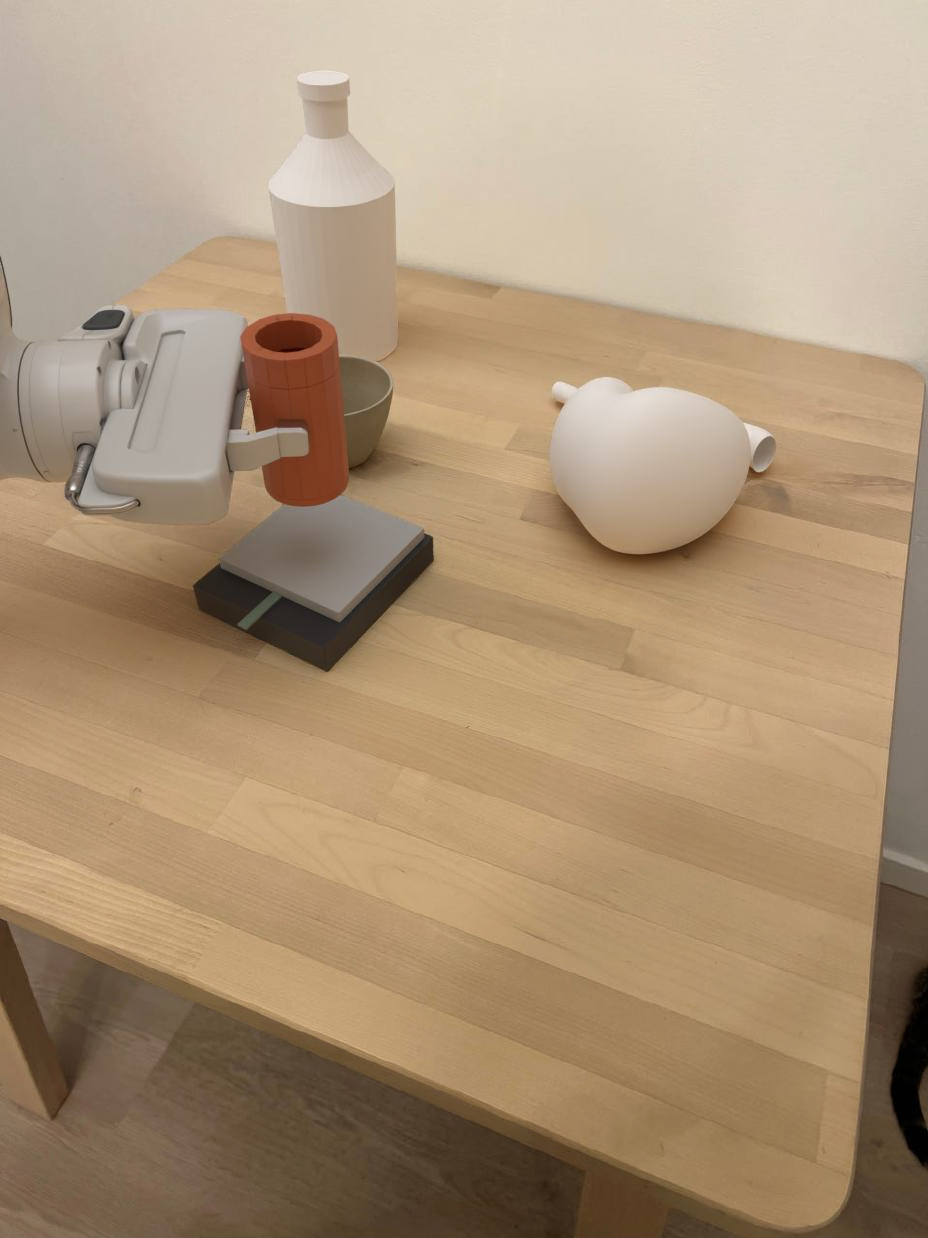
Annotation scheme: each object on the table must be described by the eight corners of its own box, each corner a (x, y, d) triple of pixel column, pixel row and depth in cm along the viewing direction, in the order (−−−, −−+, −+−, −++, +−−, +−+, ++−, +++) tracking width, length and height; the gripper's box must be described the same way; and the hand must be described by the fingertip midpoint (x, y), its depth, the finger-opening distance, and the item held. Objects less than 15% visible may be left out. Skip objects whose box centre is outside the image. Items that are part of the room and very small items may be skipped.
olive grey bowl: (335, 411, 89) (328, 342, 84) (418, 446, 85) (416, 376, 80) (262, 460, 84) (250, 389, 79) (347, 500, 80) (340, 429, 74)
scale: (184, 621, 69) (174, 586, 66) (313, 511, 78) (308, 477, 76) (314, 685, 65) (309, 651, 62) (433, 560, 74) (433, 526, 72)
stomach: (786, 532, 84) (578, 447, 97) (835, 387, 78) (606, 317, 91) (645, 592, 68) (421, 481, 82) (693, 417, 62) (441, 327, 76)
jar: (247, 489, 64) (220, 342, 56) (299, 448, 68) (281, 304, 60) (314, 517, 62) (296, 369, 54) (365, 473, 66) (355, 328, 58)
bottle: (280, 322, 102) (245, 63, 84) (385, 308, 104) (373, 54, 87) (299, 376, 94) (265, 103, 76) (413, 359, 96) (406, 92, 79)
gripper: (39, 467, 50) (298, 458, 51) (110, 292, 65) (311, 288, 66) (72, 555, 55) (309, 546, 56) (131, 374, 69) (319, 369, 70)
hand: (310, 405), depth 61 cm, fingers closed on jar, 6 cm apart
